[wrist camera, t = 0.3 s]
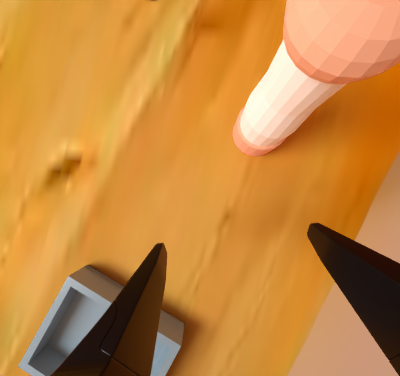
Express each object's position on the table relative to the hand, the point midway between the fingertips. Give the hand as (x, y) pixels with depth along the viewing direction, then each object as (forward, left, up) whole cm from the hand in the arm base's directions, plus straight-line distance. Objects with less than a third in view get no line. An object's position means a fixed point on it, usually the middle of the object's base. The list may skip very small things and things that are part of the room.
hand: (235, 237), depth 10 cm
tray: (-7, +24, -15) cm, 29 cm away
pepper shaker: (+7, -12, -15) cm, 20 cm away
